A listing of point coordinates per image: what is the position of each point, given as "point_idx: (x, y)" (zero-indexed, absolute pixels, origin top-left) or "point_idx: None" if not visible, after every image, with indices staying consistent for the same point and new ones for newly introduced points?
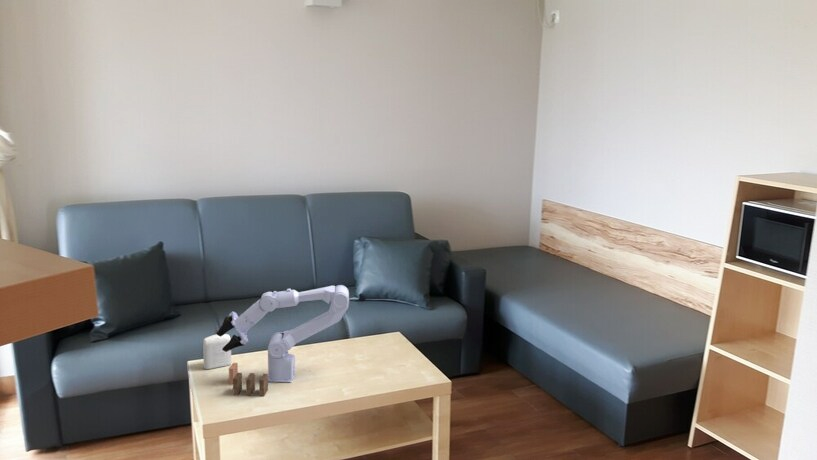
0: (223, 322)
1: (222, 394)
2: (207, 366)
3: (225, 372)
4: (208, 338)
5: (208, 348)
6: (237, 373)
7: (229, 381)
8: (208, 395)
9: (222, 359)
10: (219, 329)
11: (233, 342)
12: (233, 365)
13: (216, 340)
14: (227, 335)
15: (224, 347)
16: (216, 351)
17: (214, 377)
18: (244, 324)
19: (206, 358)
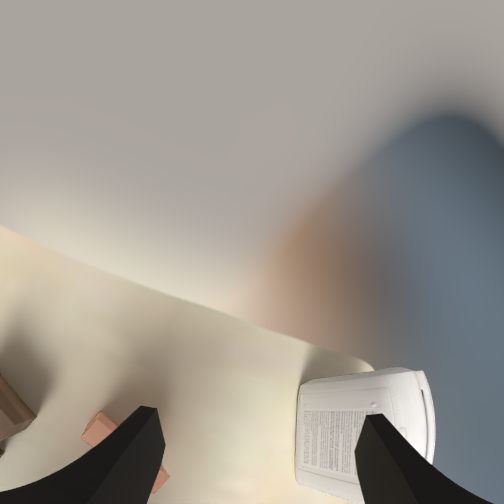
0: (467, 496)
1: (25, 333)
2: (306, 387)
3: (236, 446)
4: (416, 390)
5: (363, 389)
6: (4, 417)
7: (99, 412)
8: (56, 283)
9: (313, 453)
10: (405, 444)
11: (22, 492)
12: None
13: None
14: None
15: (129, 422)
16: (345, 430)
17: (212, 388)
18: None
19: (330, 382)
